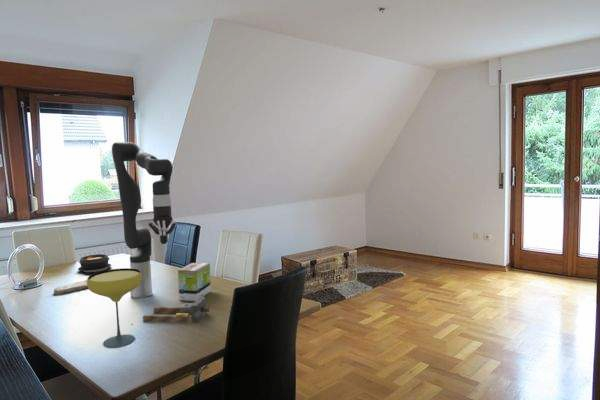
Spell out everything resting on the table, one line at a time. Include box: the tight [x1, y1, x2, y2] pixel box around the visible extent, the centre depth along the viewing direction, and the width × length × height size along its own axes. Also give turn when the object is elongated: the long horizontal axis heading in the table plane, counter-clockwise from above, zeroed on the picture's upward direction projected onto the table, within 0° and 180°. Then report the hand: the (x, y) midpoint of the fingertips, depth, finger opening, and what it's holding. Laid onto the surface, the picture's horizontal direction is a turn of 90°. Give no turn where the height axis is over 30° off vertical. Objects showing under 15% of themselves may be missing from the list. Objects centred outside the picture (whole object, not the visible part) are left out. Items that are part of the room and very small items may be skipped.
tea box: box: [177, 262, 212, 302], centre depth 204 cm, size 15×10×15 cm
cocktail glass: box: [86, 267, 142, 349], centre depth 153 cm, size 18×18×25 cm
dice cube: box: [179, 302, 194, 315], centre depth 177 cm, size 5×5×5 cm
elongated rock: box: [53, 279, 88, 296], centre depth 226 cm, size 35×5×10 cm
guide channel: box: [142, 296, 210, 324], centre depth 177 cm, size 26×11×7 cm, turn 84°
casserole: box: [77, 253, 112, 273], centre depth 260 cm, size 25×19×8 cm
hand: (164, 243), depth 187 cm, fingers closed
